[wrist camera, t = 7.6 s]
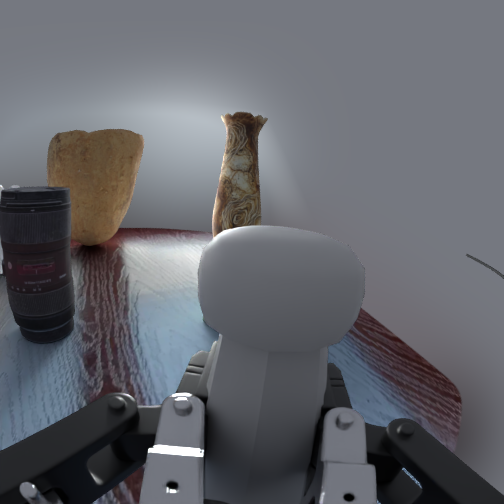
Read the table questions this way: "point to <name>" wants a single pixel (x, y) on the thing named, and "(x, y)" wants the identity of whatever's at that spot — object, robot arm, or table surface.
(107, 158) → the tan rough tapered pot
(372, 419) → the table surface
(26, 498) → the robot arm
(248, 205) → the vase
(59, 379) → the table surface
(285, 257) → the salt shaker
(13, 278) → the camera lens
